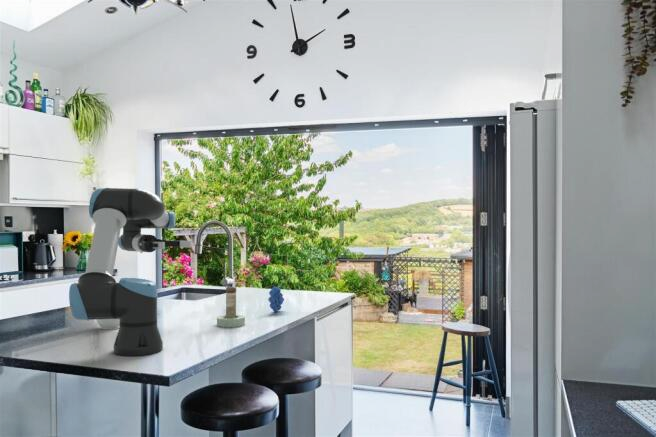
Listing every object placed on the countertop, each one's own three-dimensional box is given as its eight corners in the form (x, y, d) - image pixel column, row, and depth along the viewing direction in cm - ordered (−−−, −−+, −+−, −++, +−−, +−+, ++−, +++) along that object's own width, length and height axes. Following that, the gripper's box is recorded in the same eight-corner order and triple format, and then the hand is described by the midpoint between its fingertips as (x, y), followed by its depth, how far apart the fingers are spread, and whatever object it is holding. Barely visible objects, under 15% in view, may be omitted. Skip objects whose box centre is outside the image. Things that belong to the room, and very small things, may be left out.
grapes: (278, 314, 244) (278, 287, 244) (265, 313, 247) (265, 287, 247) (289, 310, 255) (289, 284, 255) (276, 309, 258) (276, 284, 258)
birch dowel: (233, 325, 220) (233, 288, 220) (224, 325, 221) (224, 287, 221) (237, 323, 224) (237, 287, 224) (228, 323, 225) (228, 286, 225)
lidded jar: (114, 331, 208) (114, 306, 208) (89, 330, 210) (89, 305, 210) (130, 325, 218) (130, 302, 218) (106, 324, 220) (106, 301, 220)
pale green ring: (237, 327, 215) (237, 320, 215) (212, 326, 218) (212, 318, 218) (249, 322, 226) (249, 315, 226) (224, 321, 229) (224, 313, 229)
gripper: (169, 250, 246) (201, 252, 234) (119, 253, 226) (152, 255, 214) (169, 233, 246) (201, 235, 234) (119, 235, 226) (152, 236, 214)
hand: (177, 245), depth 224 cm, fingers open, 13 cm apart
